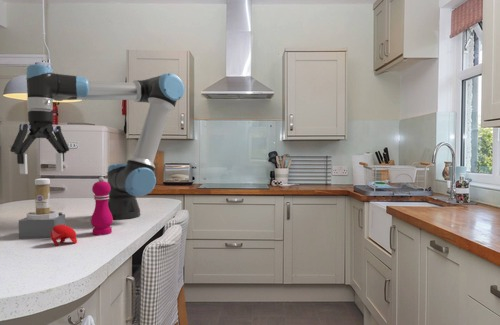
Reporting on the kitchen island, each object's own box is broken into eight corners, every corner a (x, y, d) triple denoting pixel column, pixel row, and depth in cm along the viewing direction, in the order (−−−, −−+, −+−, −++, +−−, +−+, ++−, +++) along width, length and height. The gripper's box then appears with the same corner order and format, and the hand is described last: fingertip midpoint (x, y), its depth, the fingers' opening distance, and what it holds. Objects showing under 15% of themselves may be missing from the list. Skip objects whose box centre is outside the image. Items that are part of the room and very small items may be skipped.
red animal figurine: (44, 237, 108) (61, 226, 108) (49, 226, 114) (65, 216, 114) (62, 254, 112) (79, 244, 112) (66, 243, 117) (82, 234, 117)
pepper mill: (117, 231, 129) (116, 176, 128) (103, 236, 122) (102, 177, 122) (101, 230, 131) (100, 175, 131) (86, 234, 125) (85, 177, 124)
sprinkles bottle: (34, 218, 122) (33, 179, 122) (37, 216, 127) (36, 178, 126) (49, 217, 124) (48, 179, 123) (51, 215, 128) (51, 178, 128)
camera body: (65, 230, 131) (65, 209, 131) (54, 237, 121) (53, 214, 121) (33, 231, 130) (32, 210, 129) (19, 238, 120) (18, 215, 119)
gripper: (11, 106, 111) (14, 175, 112) (78, 113, 134) (80, 170, 135) (-5, 108, 114) (-2, 174, 115) (63, 114, 137) (65, 169, 138)
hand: (42, 172), depth 125 cm, fingers open, 13 cm apart
